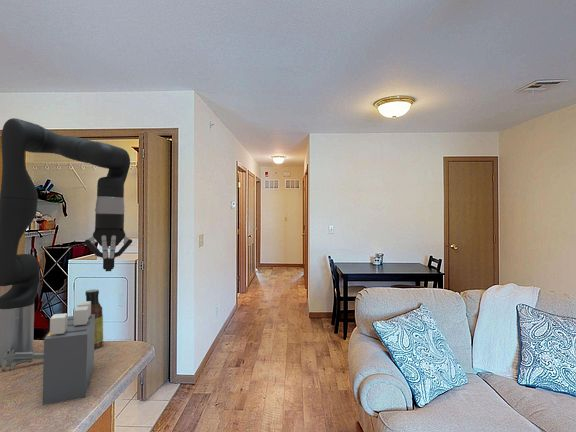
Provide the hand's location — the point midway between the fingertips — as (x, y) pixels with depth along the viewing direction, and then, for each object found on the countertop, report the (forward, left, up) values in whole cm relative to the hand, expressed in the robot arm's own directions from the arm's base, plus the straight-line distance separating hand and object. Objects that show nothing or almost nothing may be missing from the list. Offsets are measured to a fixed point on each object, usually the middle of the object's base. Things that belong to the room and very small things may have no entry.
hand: (108, 270), depth 97 cm
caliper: (-17, +14, -30) cm, 38 cm away
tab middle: (-6, -4, -14) cm, 15 cm away
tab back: (-6, +2, -14) cm, 15 cm away
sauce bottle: (-6, +23, -30) cm, 38 cm away
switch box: (-8, -4, -30) cm, 31 cm away
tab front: (-10, -10, -14) cm, 20 cm away
